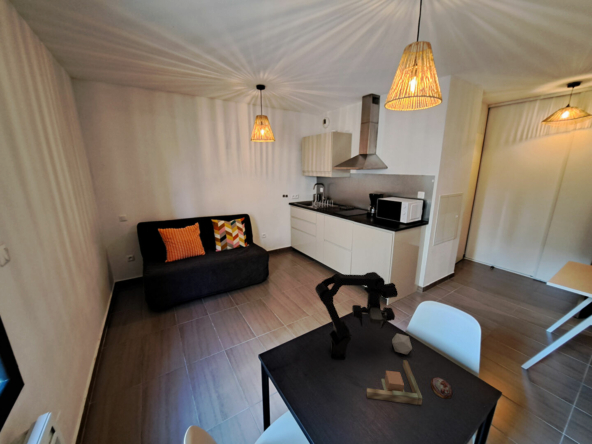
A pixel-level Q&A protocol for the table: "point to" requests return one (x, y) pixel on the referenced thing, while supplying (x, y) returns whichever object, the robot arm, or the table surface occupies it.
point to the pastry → (441, 388)
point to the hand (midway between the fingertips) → (371, 327)
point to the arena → (398, 395)
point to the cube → (394, 381)
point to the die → (402, 344)
